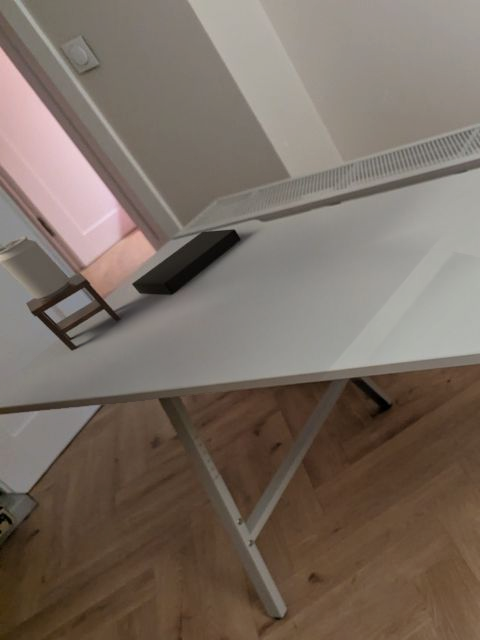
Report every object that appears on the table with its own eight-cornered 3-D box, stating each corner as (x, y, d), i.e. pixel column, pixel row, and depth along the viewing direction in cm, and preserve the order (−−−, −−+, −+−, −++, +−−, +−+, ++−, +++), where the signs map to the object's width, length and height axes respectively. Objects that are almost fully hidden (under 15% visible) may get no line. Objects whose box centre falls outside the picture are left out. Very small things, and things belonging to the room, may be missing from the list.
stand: (70, 351, 117) (30, 312, 111) (64, 340, 123) (25, 303, 117) (122, 318, 122) (86, 279, 116) (113, 310, 128) (79, 272, 122)
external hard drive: (139, 293, 131) (131, 283, 129) (208, 241, 145) (201, 231, 143) (172, 294, 123) (163, 283, 121) (241, 239, 137) (234, 229, 135)
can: (55, 298, 112) (8, 249, 105) (30, 304, 115) (-17, 257, 107) (79, 278, 118) (36, 230, 111) (56, 284, 120) (12, 238, 113)
